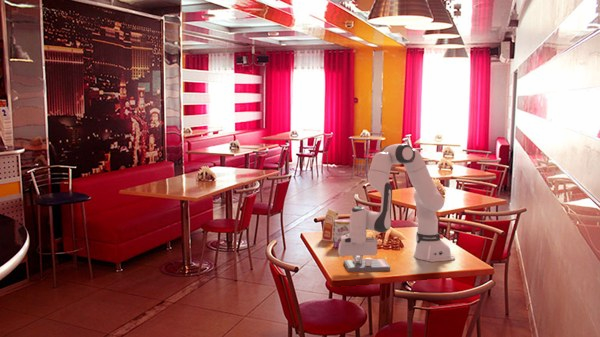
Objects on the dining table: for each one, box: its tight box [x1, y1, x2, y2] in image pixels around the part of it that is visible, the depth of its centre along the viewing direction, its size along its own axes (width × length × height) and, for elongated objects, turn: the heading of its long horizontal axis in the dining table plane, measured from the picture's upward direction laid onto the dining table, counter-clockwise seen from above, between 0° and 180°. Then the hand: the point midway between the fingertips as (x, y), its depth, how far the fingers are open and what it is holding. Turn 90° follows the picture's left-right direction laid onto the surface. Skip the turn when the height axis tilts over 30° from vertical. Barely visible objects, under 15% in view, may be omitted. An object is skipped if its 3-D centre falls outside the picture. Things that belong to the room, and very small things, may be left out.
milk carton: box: [321, 208, 339, 242], centre depth 338 cm, size 9×9×20 cm
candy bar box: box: [333, 219, 350, 249], centre depth 320 cm, size 11×5×16 cm, turn 84°
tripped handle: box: [365, 257, 373, 266], centre depth 278 cm, size 3×2×4 cm
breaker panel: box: [343, 258, 391, 273], centre depth 283 cm, size 22×14×2 cm, turn 95°
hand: (357, 263), depth 278 cm, fingers closed
